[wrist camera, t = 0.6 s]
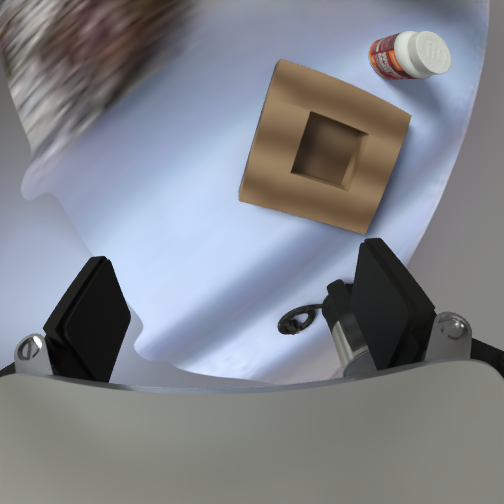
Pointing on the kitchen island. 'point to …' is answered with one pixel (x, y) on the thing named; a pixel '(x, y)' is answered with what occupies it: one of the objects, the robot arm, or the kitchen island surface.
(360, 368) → the milk frother
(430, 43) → the pill bottle
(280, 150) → the socket block
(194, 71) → the kitchen island surface
